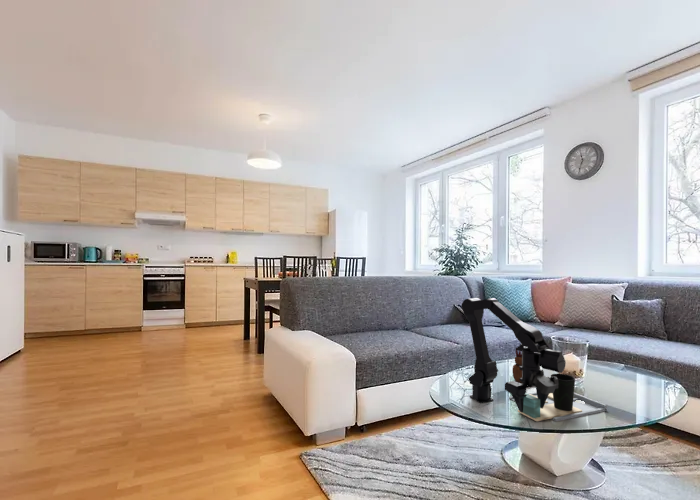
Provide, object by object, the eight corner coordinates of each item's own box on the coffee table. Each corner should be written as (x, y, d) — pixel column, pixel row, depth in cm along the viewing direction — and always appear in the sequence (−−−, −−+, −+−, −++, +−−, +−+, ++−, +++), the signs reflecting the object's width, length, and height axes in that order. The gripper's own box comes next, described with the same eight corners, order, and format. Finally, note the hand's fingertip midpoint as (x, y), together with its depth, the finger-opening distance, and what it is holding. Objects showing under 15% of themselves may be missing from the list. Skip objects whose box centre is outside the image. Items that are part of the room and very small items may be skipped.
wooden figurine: (510, 381, 165) (510, 347, 165) (515, 378, 169) (515, 345, 169) (526, 385, 160) (526, 350, 160) (531, 382, 164) (531, 348, 164)
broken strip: (531, 406, 137) (531, 400, 137) (514, 398, 144) (514, 392, 144) (574, 398, 144) (574, 392, 144) (555, 391, 152) (555, 385, 152)
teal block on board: (536, 421, 124) (536, 401, 124) (517, 411, 132) (517, 393, 132) (582, 411, 132) (582, 393, 132) (561, 403, 139) (561, 385, 139)
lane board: (555, 421, 125) (555, 415, 125) (509, 398, 145) (509, 393, 145) (606, 410, 134) (606, 405, 134) (556, 390, 154) (556, 385, 154)
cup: (579, 415, 129) (578, 381, 129) (555, 413, 131) (554, 379, 131) (570, 406, 137) (570, 374, 137) (548, 405, 138) (547, 373, 138)
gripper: (529, 375, 118) (529, 424, 118) (571, 369, 125) (571, 415, 124) (503, 365, 129) (503, 410, 128) (543, 360, 135) (544, 403, 135)
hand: (531, 410), depth 129 cm, fingers open, 9 cm apart
